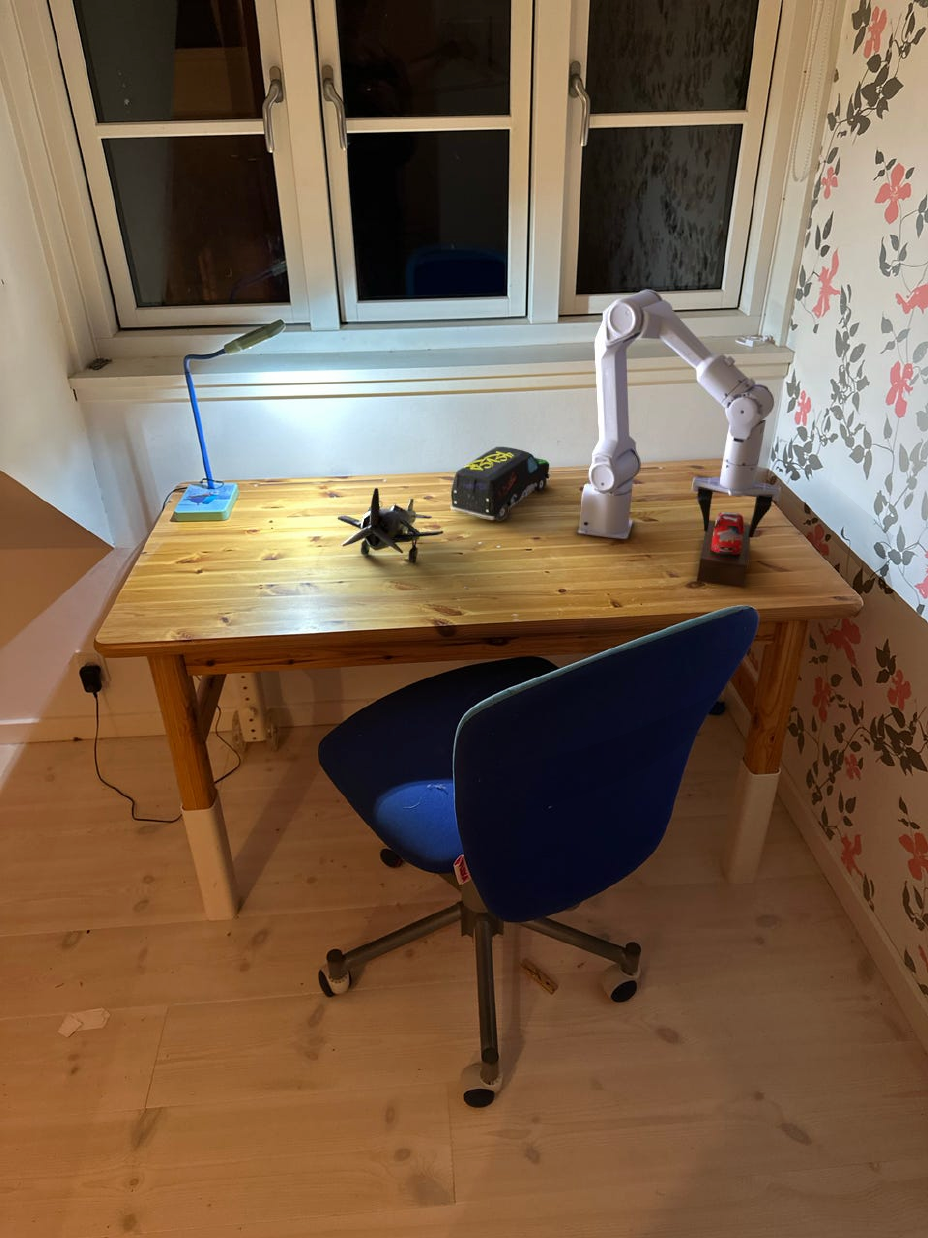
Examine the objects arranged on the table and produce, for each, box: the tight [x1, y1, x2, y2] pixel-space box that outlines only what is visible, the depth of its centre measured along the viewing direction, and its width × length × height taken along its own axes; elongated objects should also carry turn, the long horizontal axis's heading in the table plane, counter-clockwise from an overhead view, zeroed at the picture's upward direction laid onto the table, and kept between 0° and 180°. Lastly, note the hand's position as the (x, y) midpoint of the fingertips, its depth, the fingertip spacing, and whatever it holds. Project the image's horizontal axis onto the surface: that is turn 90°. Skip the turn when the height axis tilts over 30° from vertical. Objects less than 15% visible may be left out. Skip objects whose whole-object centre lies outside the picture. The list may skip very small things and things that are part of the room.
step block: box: [696, 519, 751, 588], centre depth 151 cm, size 8×16×4 cm, turn 162°
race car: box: [711, 511, 745, 555], centre depth 148 cm, size 13×5×4 cm, turn 160°
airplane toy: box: [337, 487, 444, 565], centre depth 153 cm, size 20×19×15 cm
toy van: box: [450, 446, 551, 522], centre depth 174 cm, size 11×25×10 cm, turn 148°
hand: (728, 531), depth 149 cm, fingers open, 7 cm apart
